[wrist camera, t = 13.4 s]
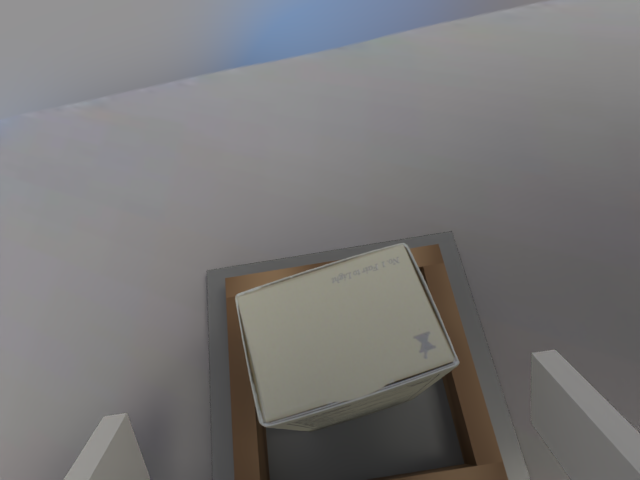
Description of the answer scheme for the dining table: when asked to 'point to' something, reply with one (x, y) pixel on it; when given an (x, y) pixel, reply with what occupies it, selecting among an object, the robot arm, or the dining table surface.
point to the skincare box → (342, 340)
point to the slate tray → (370, 430)
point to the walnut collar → (460, 384)
